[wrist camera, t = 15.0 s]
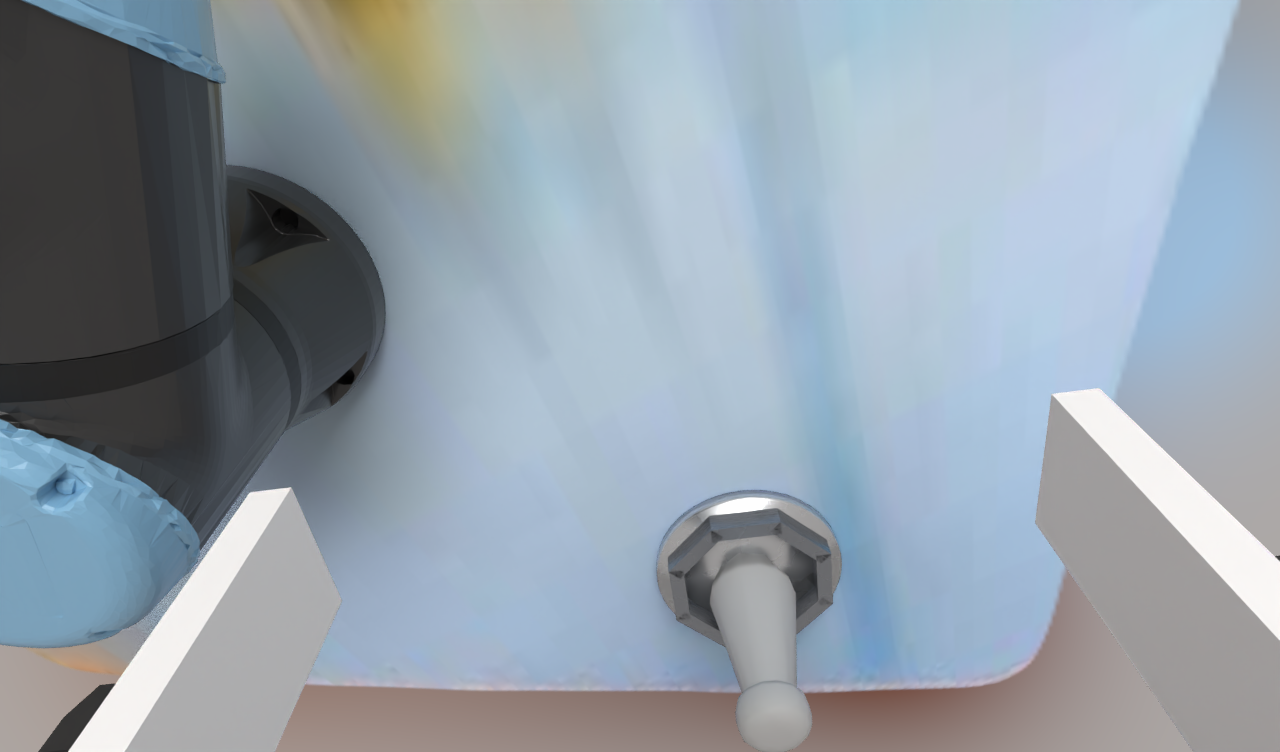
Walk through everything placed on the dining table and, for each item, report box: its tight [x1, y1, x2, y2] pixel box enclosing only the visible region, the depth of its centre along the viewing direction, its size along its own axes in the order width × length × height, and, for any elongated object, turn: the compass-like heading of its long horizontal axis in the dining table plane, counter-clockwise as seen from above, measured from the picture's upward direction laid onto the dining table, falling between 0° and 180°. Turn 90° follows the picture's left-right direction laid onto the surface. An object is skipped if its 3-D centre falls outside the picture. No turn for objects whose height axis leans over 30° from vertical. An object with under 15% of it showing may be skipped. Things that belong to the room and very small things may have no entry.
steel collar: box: [657, 490, 842, 647], centre depth 55 cm, size 13×13×2 cm
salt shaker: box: [710, 553, 812, 752], centre depth 50 cm, size 6×6×13 cm
